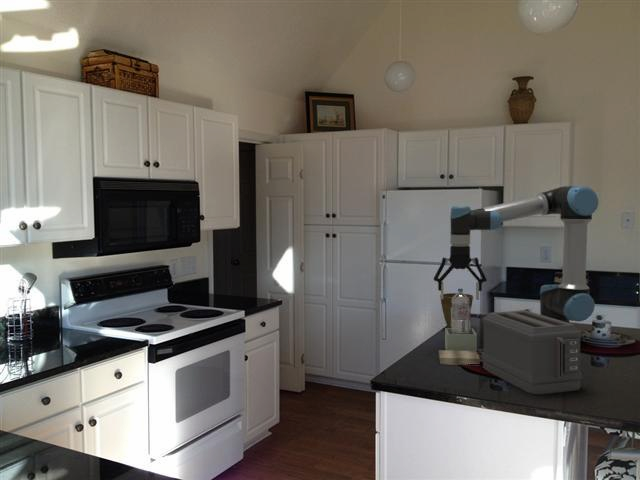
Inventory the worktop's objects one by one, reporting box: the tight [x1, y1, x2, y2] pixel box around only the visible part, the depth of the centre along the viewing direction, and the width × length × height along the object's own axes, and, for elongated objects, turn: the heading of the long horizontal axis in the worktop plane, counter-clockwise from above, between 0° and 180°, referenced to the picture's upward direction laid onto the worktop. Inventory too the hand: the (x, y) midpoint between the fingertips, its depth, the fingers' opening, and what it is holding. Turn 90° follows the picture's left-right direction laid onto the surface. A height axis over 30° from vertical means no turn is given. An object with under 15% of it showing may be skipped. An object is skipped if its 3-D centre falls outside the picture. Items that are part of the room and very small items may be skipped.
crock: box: [444, 327, 478, 352], centre depth 233 cm, size 11×11×8 cm
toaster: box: [481, 309, 583, 395], centre depth 196 cm, size 19×34×20 cm, turn 15°
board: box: [438, 349, 481, 366], centre depth 219 cm, size 14×11×2 cm
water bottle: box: [452, 288, 469, 334], centre depth 232 cm, size 7×7×25 cm
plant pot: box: [439, 292, 474, 328], centre depth 271 cm, size 15×15×16 cm
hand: (459, 299), depth 231 cm, fingers open, 13 cm apart
